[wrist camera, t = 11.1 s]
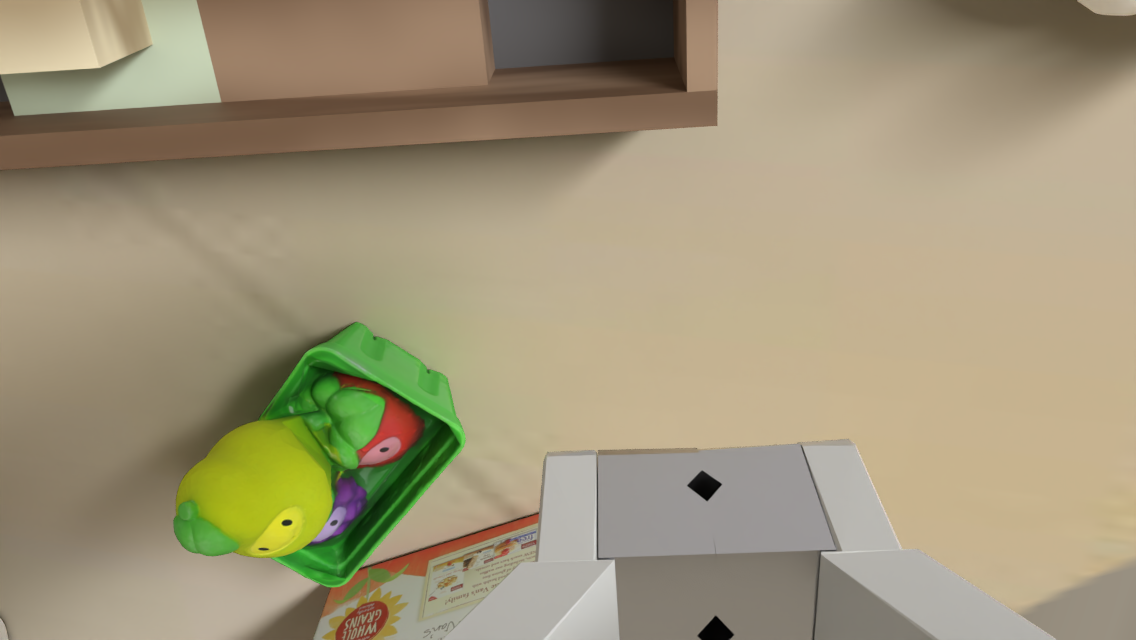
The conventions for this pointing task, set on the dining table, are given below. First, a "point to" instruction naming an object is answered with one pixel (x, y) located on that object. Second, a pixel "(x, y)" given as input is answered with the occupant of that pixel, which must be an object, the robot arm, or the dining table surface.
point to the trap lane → (368, 78)
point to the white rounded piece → (1111, 7)
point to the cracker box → (426, 587)
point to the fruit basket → (325, 461)
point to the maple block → (69, 33)
